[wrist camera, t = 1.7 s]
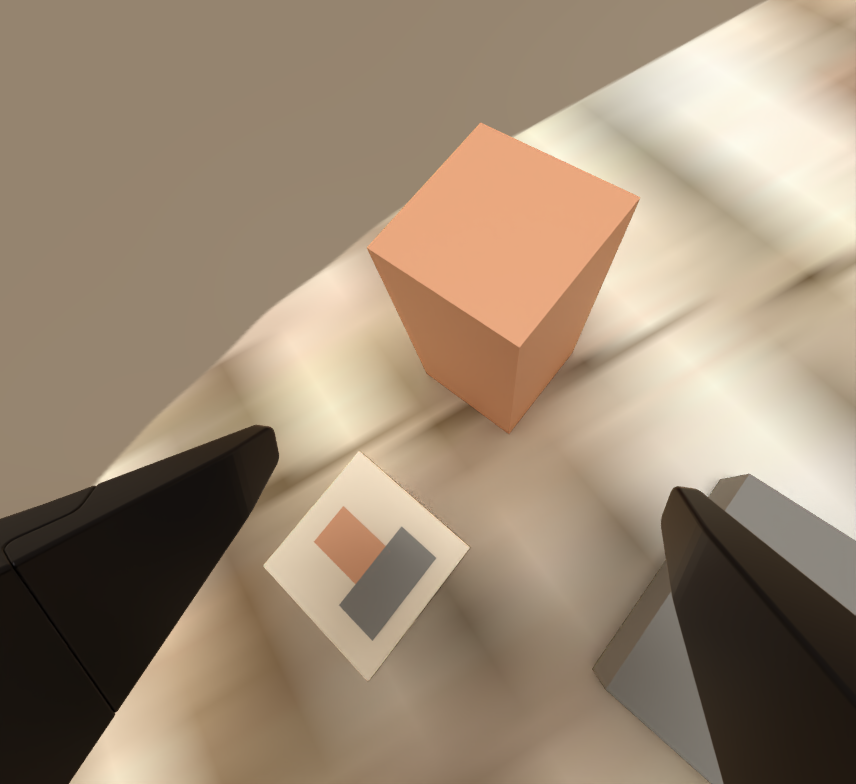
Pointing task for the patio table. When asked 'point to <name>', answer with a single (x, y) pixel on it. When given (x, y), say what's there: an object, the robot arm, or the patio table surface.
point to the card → (365, 562)
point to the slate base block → (661, 635)
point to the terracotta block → (500, 268)
